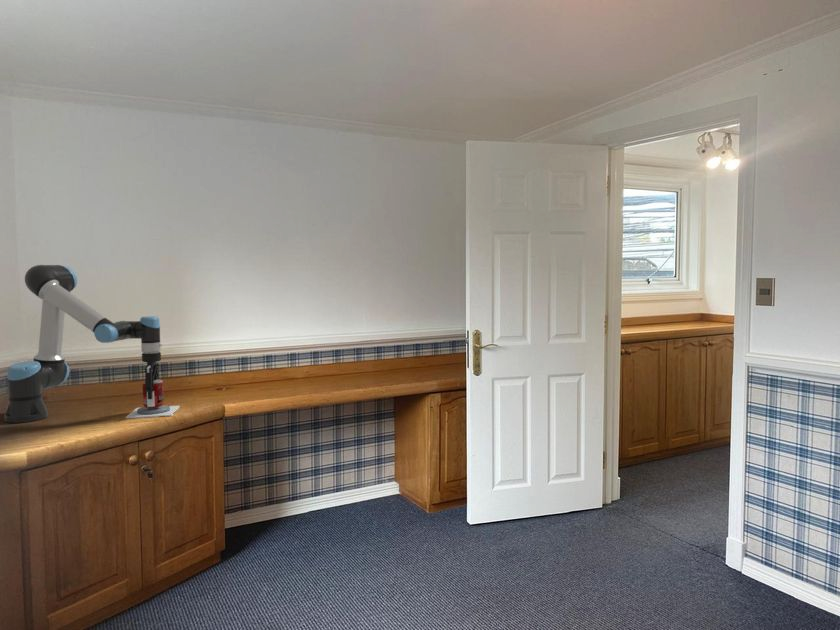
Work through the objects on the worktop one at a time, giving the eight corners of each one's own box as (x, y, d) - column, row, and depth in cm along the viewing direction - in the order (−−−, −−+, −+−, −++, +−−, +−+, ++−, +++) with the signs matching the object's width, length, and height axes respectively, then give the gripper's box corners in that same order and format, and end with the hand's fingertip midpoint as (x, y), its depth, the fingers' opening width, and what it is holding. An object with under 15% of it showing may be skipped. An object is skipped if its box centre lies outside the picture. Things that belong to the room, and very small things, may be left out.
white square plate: (125, 418, 246) (125, 414, 246) (137, 409, 263) (136, 405, 263) (171, 416, 249) (171, 411, 249) (179, 406, 267) (179, 402, 267)
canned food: (162, 407, 253) (161, 381, 253) (141, 408, 251) (140, 382, 251) (164, 403, 261) (163, 378, 260) (145, 404, 259) (144, 379, 258)
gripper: (154, 355, 245) (156, 409, 247) (165, 349, 265) (167, 399, 267) (135, 355, 244) (137, 410, 245) (148, 349, 264) (150, 399, 265)
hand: (153, 404), depth 256 cm, fingers closed on canned food, 8 cm apart
